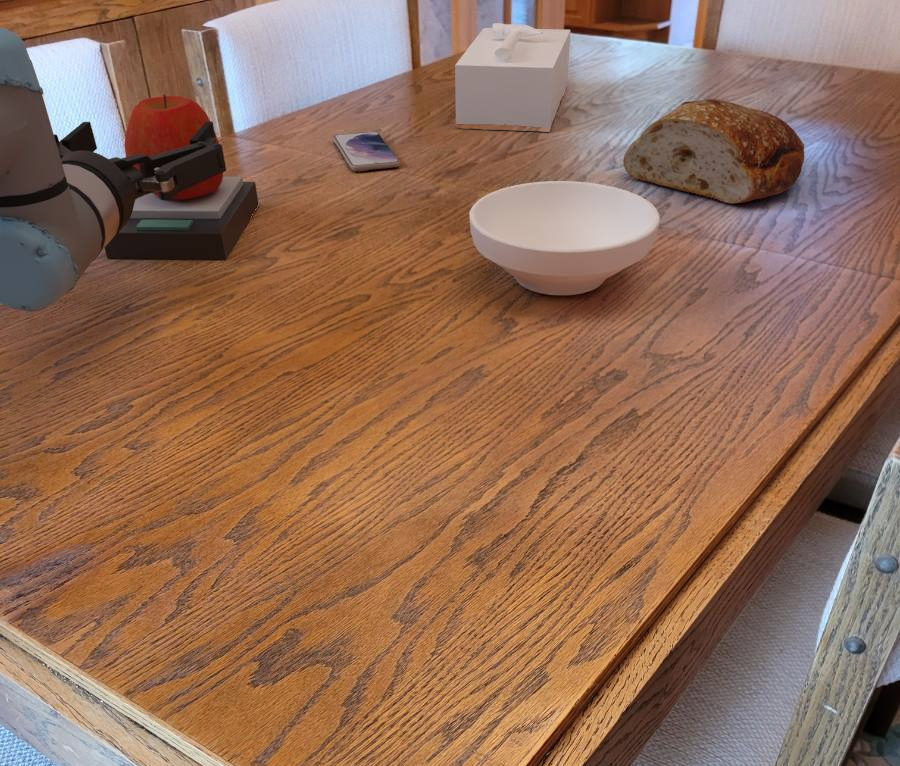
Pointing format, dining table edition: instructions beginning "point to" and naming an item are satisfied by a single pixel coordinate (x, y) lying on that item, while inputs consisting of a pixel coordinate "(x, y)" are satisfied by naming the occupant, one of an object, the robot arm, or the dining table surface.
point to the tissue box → (512, 76)
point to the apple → (168, 134)
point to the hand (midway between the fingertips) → (151, 135)
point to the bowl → (563, 233)
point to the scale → (187, 224)
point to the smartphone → (366, 151)
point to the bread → (718, 152)
